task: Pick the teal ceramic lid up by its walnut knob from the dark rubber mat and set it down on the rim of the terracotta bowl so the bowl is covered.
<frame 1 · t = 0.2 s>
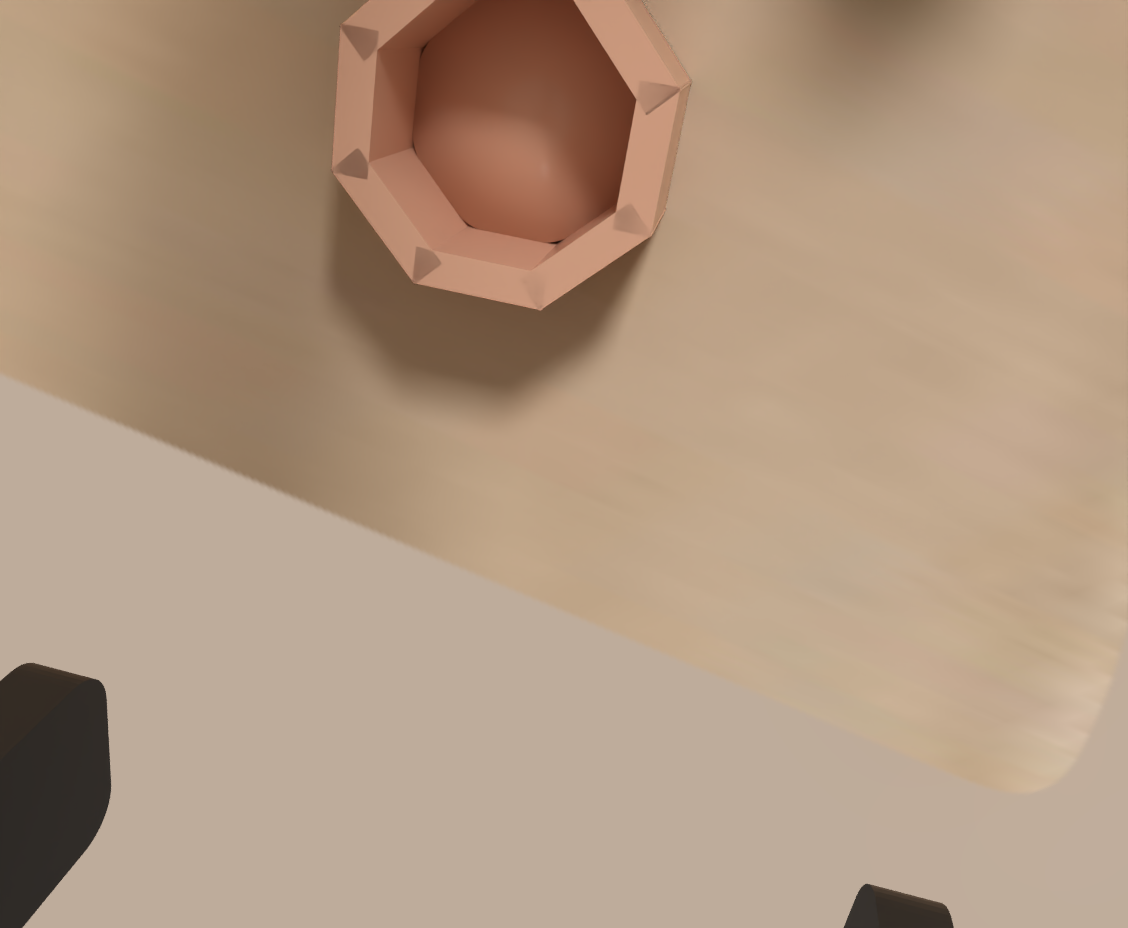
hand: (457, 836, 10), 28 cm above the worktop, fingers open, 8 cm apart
bowl: (532, 118, 35), on the worktop
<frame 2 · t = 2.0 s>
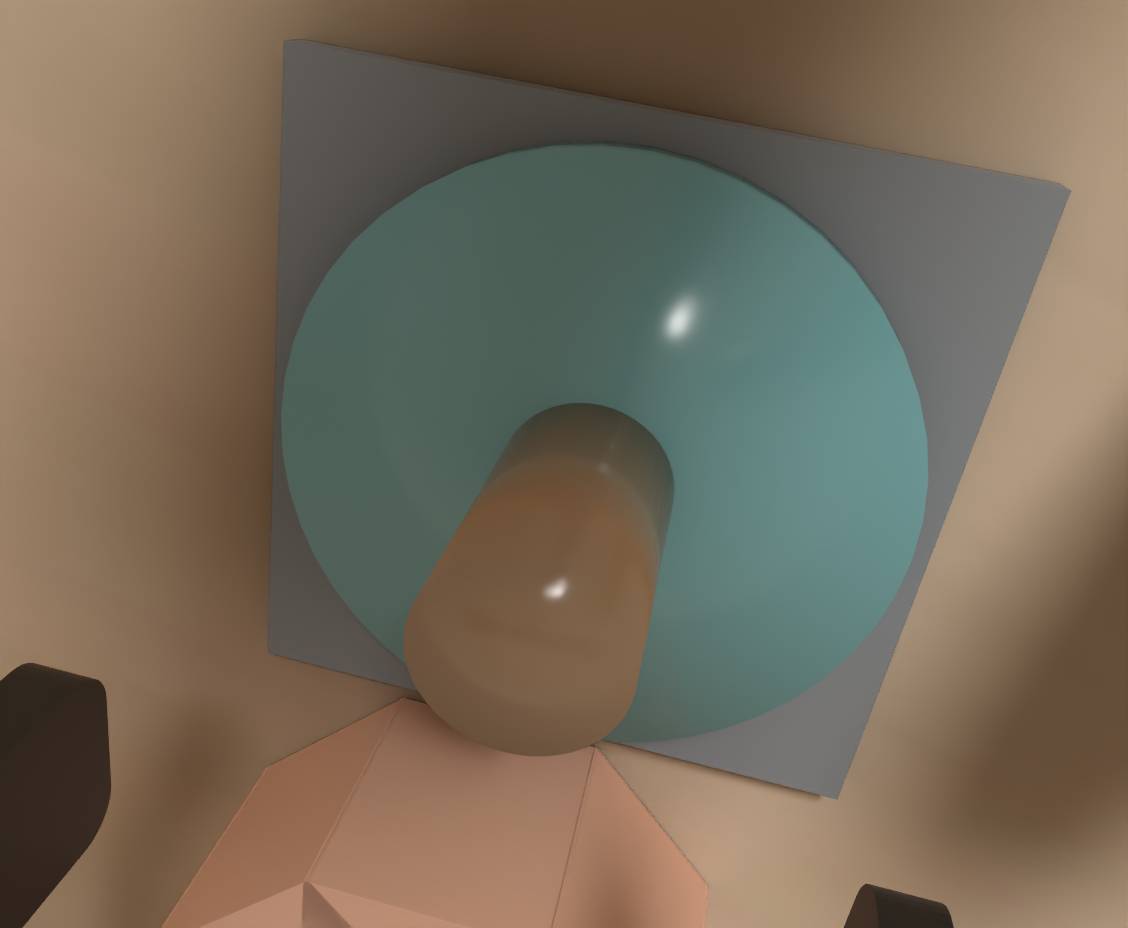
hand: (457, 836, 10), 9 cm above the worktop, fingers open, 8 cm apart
mat: (598, 451, 18), on the worktop
bowl: (471, 889, 24), on the worktop
lid: (593, 465, 17), point 1 cm above the worktop, touching mat
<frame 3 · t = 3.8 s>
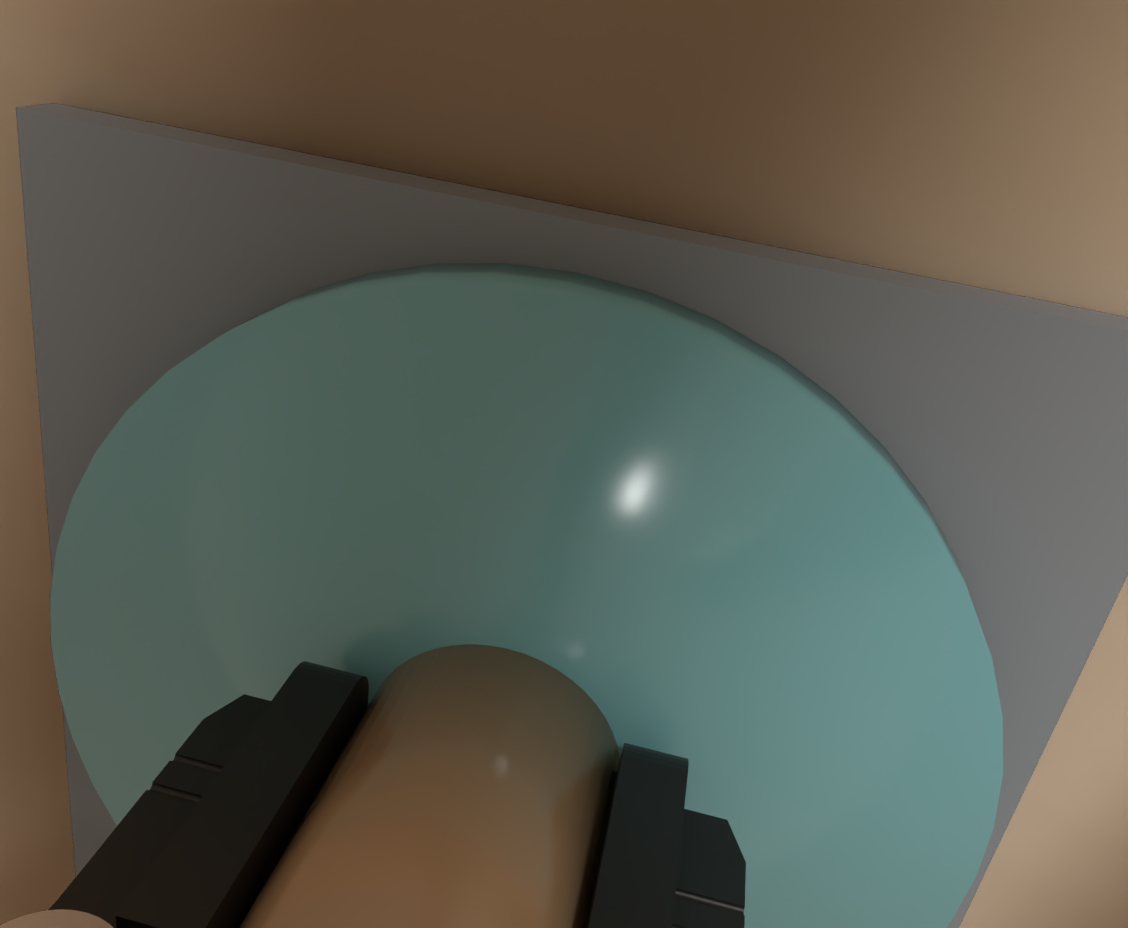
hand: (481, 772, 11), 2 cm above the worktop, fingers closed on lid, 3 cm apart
mat: (516, 680, 13), on the worktop
lid: (506, 711, 12), point 1 cm above the worktop, touching gripper, mat
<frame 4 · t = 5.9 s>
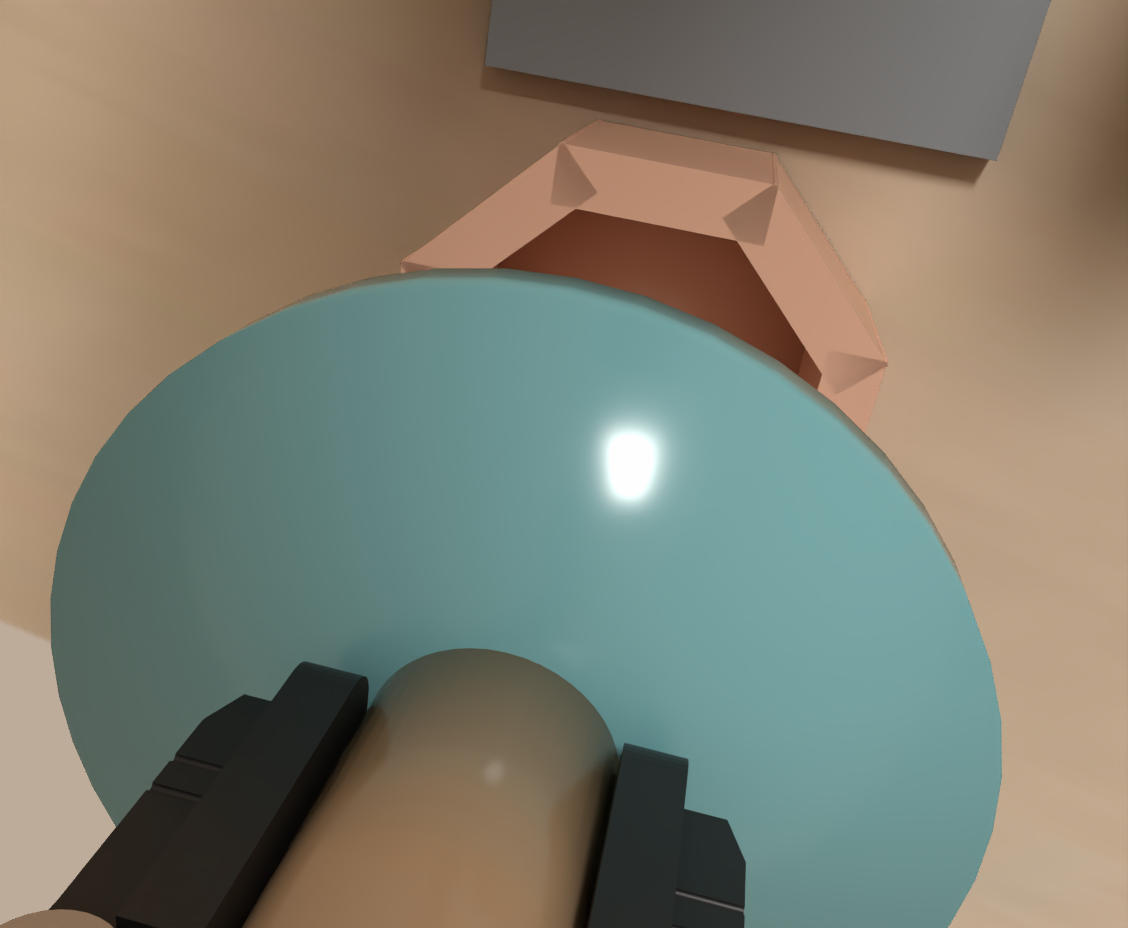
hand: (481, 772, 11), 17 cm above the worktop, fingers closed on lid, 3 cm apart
bowl: (644, 339, 26), on the worktop
lid: (506, 714, 12), point 16 cm above the worktop, touching gripper
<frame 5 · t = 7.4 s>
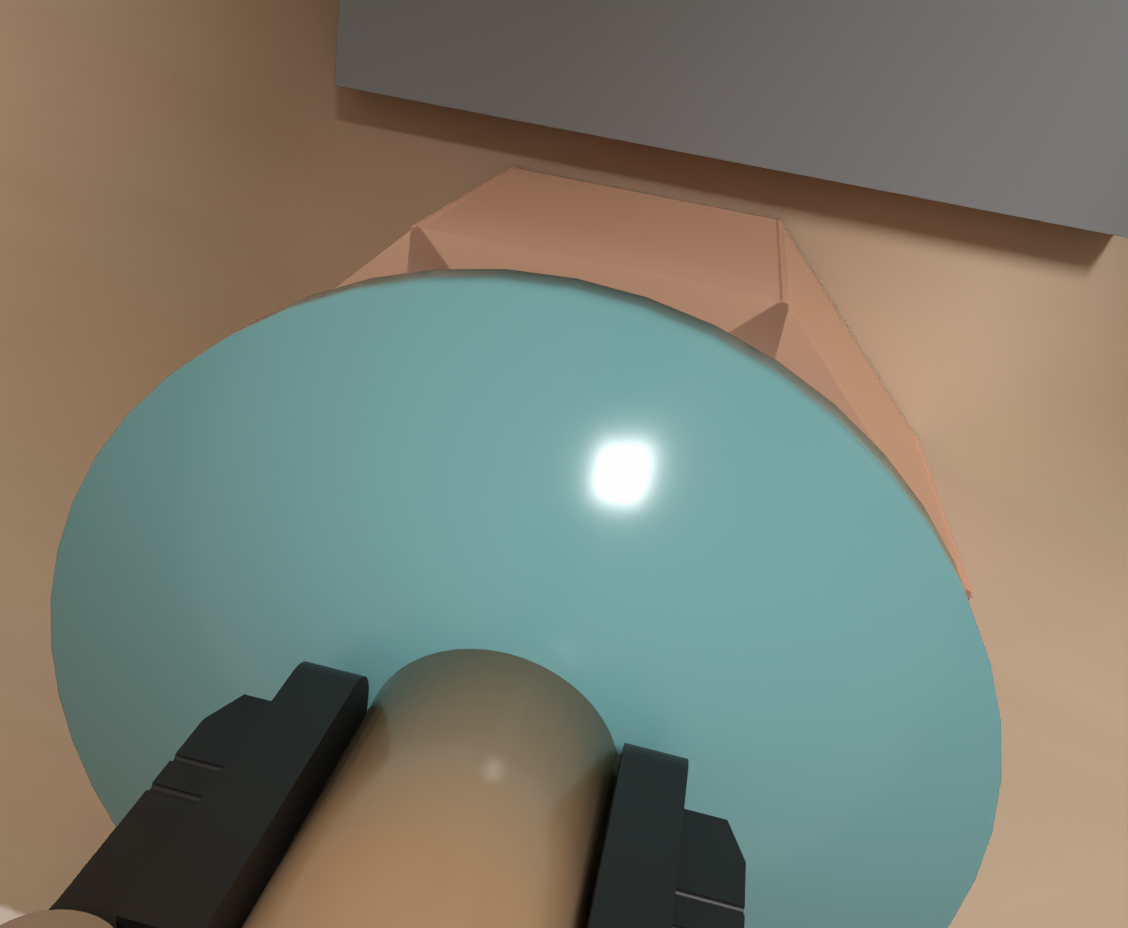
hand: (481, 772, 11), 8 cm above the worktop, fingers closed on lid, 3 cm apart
bowl: (590, 482, 18), on the worktop
lid: (506, 714, 12), point 7 cm above the worktop, touching gripper
when the fingers open (7 cm above the worktop, at t = 8.3 s): lid stays where it is, resting on bowl.
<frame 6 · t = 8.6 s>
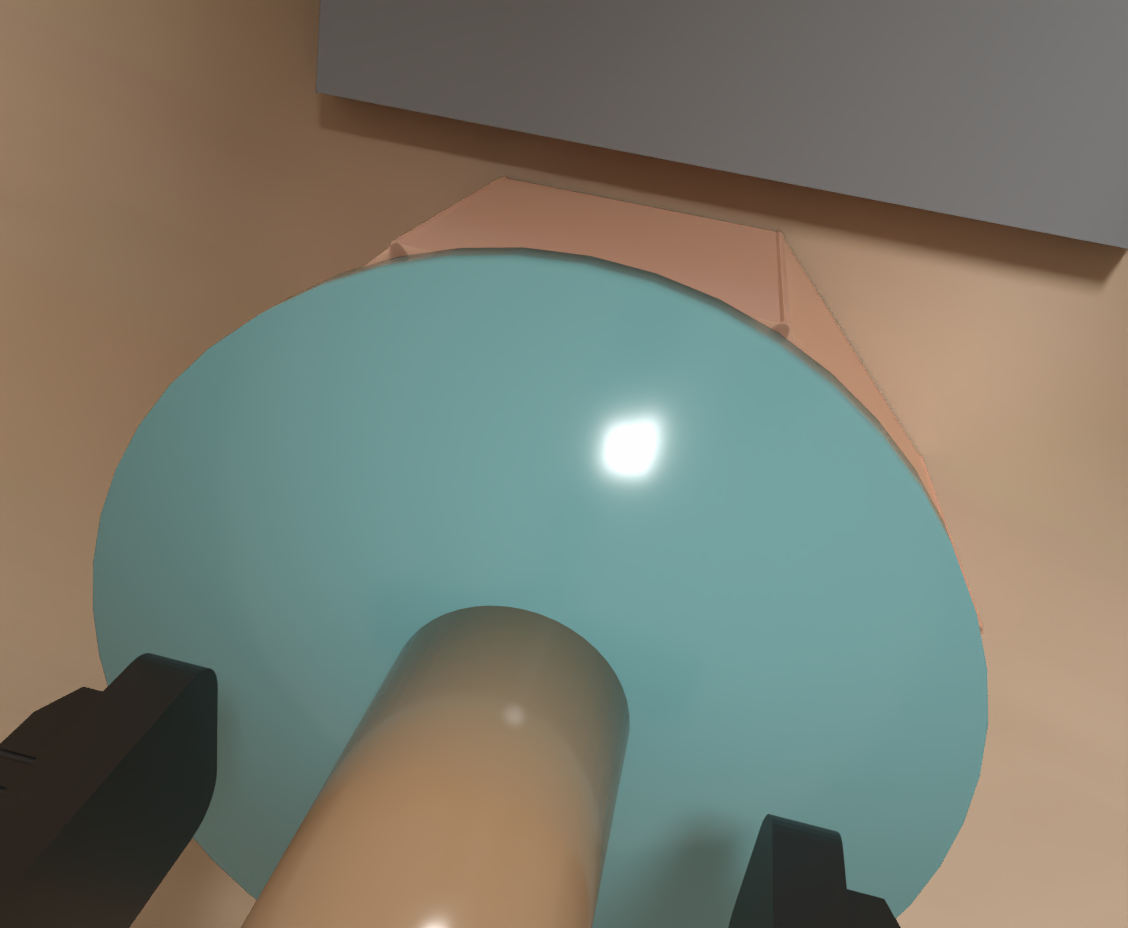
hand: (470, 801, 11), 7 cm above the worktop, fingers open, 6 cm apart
bowl: (583, 502, 17), on the worktop
lid: (522, 672, 13), point 5 cm above the worktop, touching bowl
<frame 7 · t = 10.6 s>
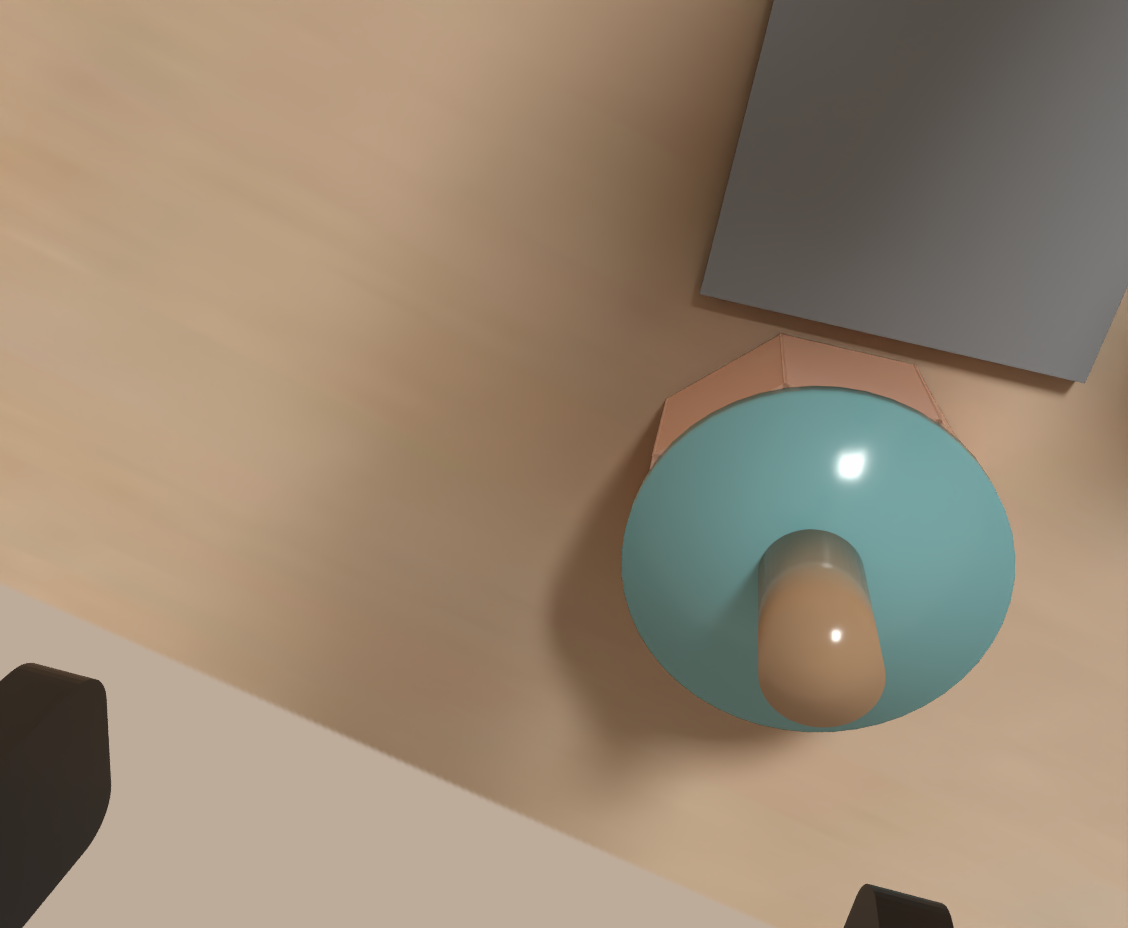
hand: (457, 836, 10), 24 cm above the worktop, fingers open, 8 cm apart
mat: (953, 137, 29), on the worktop
bowl: (801, 492, 34), on the worktop
lid: (809, 562, 29), point 5 cm above the worktop, touching bowl
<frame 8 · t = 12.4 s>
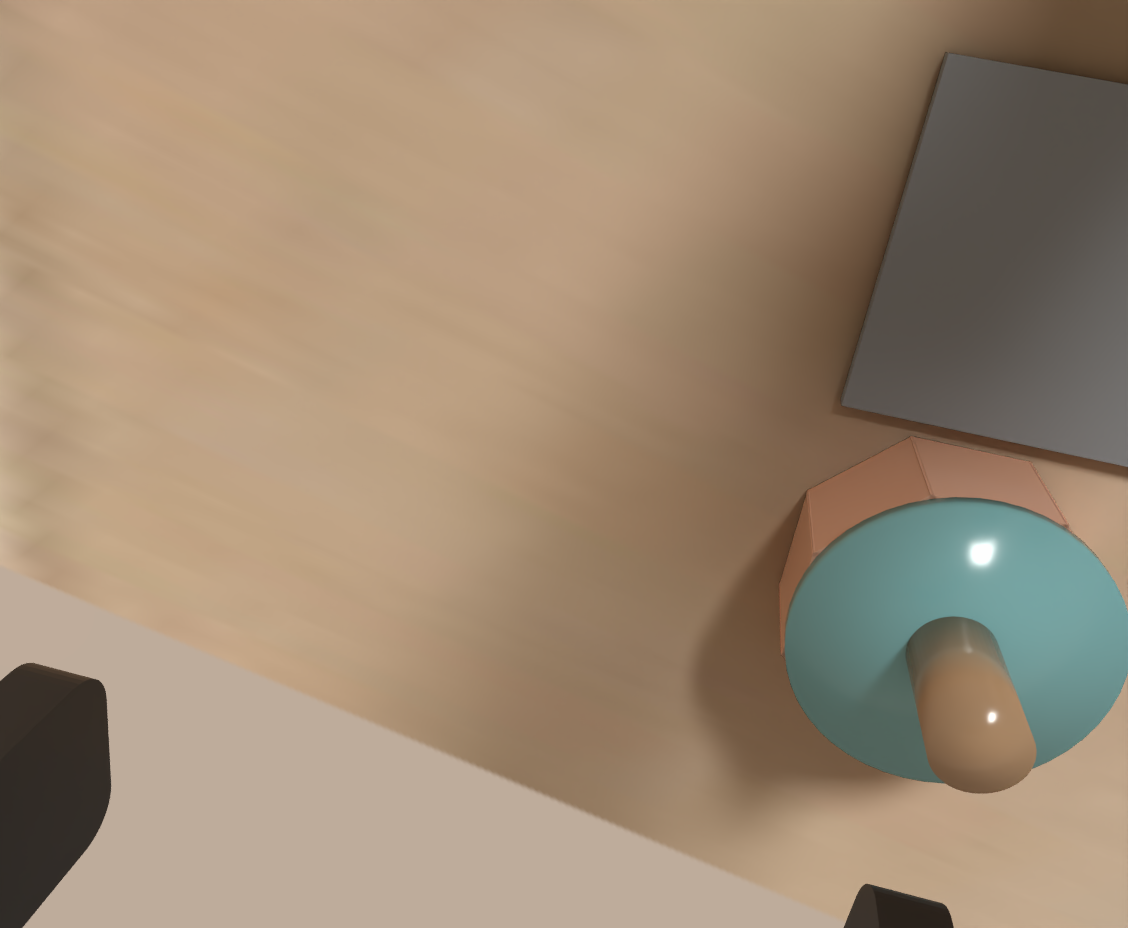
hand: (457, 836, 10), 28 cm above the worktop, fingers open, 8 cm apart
mat: (1068, 274, 33), on the worktop
bowl: (925, 568, 39), on the worktop
lid: (948, 641, 34), point 5 cm above the worktop, touching bowl
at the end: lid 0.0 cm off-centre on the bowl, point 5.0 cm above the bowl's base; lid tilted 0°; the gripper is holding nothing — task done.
